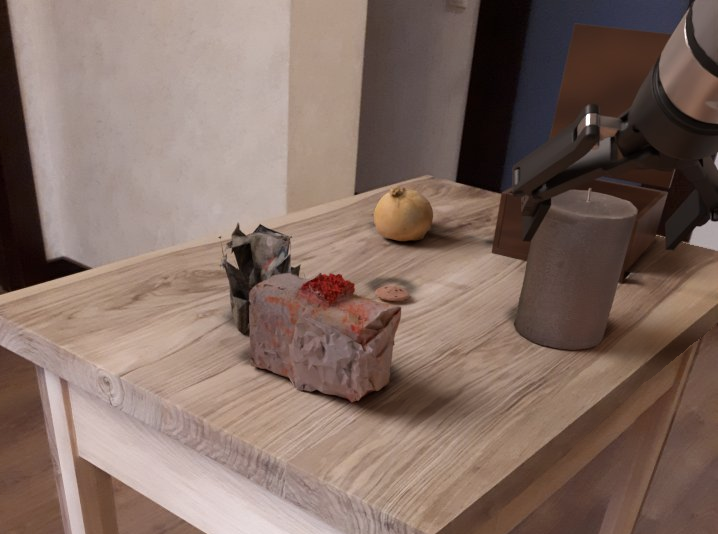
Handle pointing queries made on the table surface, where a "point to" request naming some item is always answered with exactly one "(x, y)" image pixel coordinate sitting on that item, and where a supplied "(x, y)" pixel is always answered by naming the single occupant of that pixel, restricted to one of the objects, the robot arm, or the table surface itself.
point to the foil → (254, 266)
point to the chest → (643, 199)
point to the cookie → (392, 293)
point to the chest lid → (609, 80)
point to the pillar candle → (574, 269)
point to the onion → (403, 215)
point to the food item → (322, 334)
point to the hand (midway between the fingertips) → (598, 232)
